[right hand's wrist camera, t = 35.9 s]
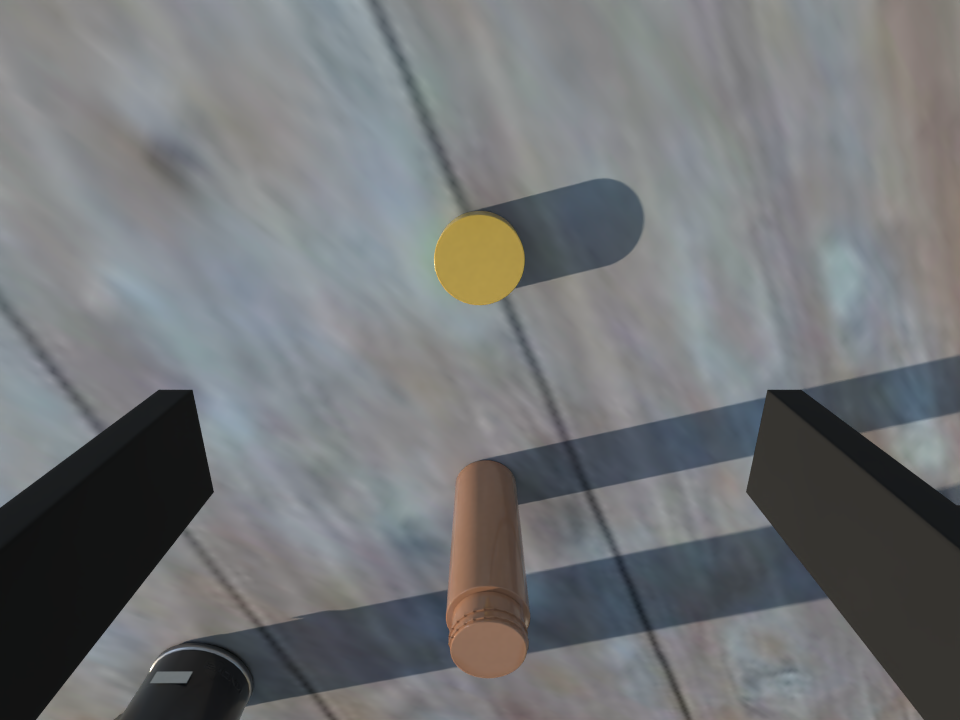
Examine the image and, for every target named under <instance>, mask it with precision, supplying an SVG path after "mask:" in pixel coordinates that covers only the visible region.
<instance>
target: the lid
mask: <svg viewBox="0 0 960 720" xmlns="http://www.w3.org/2000/svg"><path fill="white" fill-rule="evenodd" d="M434 264H435V270H436V274H437V277H438V279H439V281H440V283H441V284H442V286H443V287H444V288H445V290H446V291H447V292H448V293H449V294H450V295H452V296H453V297H454V298H456V299H458V300H460V301H462V302H464V303H468V304H473V305H487V304H491V303H494V302H497V301H499V300H501V299H503V298H505V297H506V296H507V295H509V294H510V293H511V292H512V291H513V290H514V288H515V287H516V286H517V284H518V283H519V281H520V279H521V277H522V274H523V271H524V265H525V255H524V249H523V246H522V243H521V240H520V238H519V236H518V234H517V232H516V231H515V229H514V228H513V226H512V225H511V224H510V223H509V222H508V221H507V220H505V219H504V218H502V217H501V216H499V215H497V214H495V213H491V212H487V211H472V212H468V213H465V214H462V215H460V216H458V217H457V218H455V219H454V220H452V221H451V222H450V223H449V224H448V225H447V227H446V228H445V229H444V231H443V232H442V234H441V236H440V238H439V241H438V243H437V246H436V249H435V255H434Z"/></svg>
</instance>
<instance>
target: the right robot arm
mask: <svg viewBox="0 0 960 720" xmlns="http://www.w3.org/2000/svg"><path fill="white" fill-rule="evenodd" d="M213 492H214V491H213V486H212V481H211V476H210V472H209V467H208V462H207V457H206V452H205V448H204V443H203V438H202V433H201V428H200V424H199V419H198V414H197V409H196V404H195V400H194V395H193V390H158V391H157V392H155V393H154V394H153V395H151V396H150V397H149V398H147V399H146V400H145V401H143V402H142V403H141V404H139V405H138V406H137V407H135V408H134V409H132V410H131V411H130V412H128V413H127V414H126V415H124V416H123V417H122V418H120V419H119V420H118V421H116V422H115V423H114V424H112V425H111V426H110V427H108V428H107V429H106V430H104V431H103V432H102V433H100V434H99V435H98V436H96V437H95V438H93V439H92V440H91V441H89V442H88V443H87V444H85V445H84V446H83V447H81V448H80V449H79V450H77V451H76V452H75V453H73V454H72V455H71V456H69V457H68V458H67V459H65V460H64V461H63V462H61V463H60V464H59V465H57V466H56V467H54V468H53V469H52V470H50V471H49V472H48V473H46V474H45V475H44V476H42V477H41V478H40V479H38V480H37V481H36V482H34V483H33V484H32V485H30V486H29V487H28V488H26V489H25V490H24V491H22V492H21V493H20V494H18V495H17V496H15V497H14V498H13V499H11V500H10V501H9V502H7V503H6V504H5V505H3V506H2V507H1V508H0V720H36V719H37V718H38V716H39V715H40V714H41V713H42V711H43V710H44V709H45V707H46V706H47V705H48V704H49V702H50V701H51V700H52V699H53V697H54V696H55V695H56V693H57V692H58V691H59V690H60V688H61V687H62V686H63V684H64V683H65V682H66V681H67V679H68V678H69V677H70V675H71V674H72V673H73V672H74V670H75V669H76V668H77V667H78V665H79V664H80V663H81V661H82V660H83V659H84V658H85V656H86V655H87V654H88V652H89V651H90V650H91V649H92V647H93V646H94V645H95V643H96V642H97V641H98V640H99V638H100V637H101V636H102V635H103V633H104V632H105V631H106V629H107V628H108V627H109V626H110V624H111V623H112V622H113V620H114V619H115V618H116V617H117V615H118V614H119V613H120V611H121V610H122V609H123V608H124V606H125V605H126V604H127V602H128V601H129V600H130V599H131V597H132V596H133V595H134V594H135V592H136V591H137V590H138V588H139V587H140V586H141V585H142V583H143V582H144V581H145V579H146V578H147V577H148V576H149V574H150V573H151V572H152V570H153V569H154V568H155V567H156V565H157V564H158V563H159V562H160V560H161V559H162V558H163V556H164V555H165V554H166V553H167V551H168V550H169V549H170V547H171V546H172V545H173V544H174V542H175V541H176V540H177V538H178V537H179V536H180V535H181V533H182V532H183V531H184V529H185V528H186V527H187V526H188V524H189V523H190V522H191V521H192V519H193V518H194V517H195V515H196V514H197V513H198V512H199V510H200V509H201V508H202V506H203V505H204V504H205V503H206V501H207V500H208V499H209V497H210V496H211V495H212V494H213ZM746 492H747V494H748V495H749V496H750V497H751V499H752V500H753V501H754V503H755V504H756V505H757V506H758V508H759V509H760V510H761V512H762V513H763V514H764V515H765V517H766V518H767V519H768V521H769V522H770V523H771V524H772V526H773V527H774V528H775V529H776V531H777V532H778V533H779V535H780V536H781V537H782V538H783V540H784V541H785V542H786V544H787V545H788V546H789V547H790V549H791V550H792V551H793V553H794V554H795V555H796V556H797V558H798V559H799V560H800V562H801V563H802V564H803V565H804V567H805V568H806V569H807V570H808V572H809V573H810V574H811V576H812V577H813V578H814V579H815V581H816V582H817V583H818V585H819V586H820V587H821V588H822V590H823V591H824V592H825V594H826V595H827V596H828V597H829V599H830V600H831V601H832V602H833V604H834V605H835V606H836V608H837V609H838V610H839V611H840V613H841V614H842V615H843V617H844V618H845V619H846V620H847V622H848V623H849V624H850V626H851V627H852V628H853V629H854V631H855V632H856V633H857V635H858V636H859V637H860V638H861V640H862V641H863V642H864V643H865V645H866V646H867V647H868V649H869V650H870V651H871V652H872V654H873V655H874V656H875V658H876V659H877V660H878V661H879V663H880V664H881V665H882V667H883V668H884V669H885V670H886V672H887V673H888V674H889V675H890V677H891V678H892V679H893V681H894V682H895V683H896V684H897V686H898V687H899V688H900V690H901V691H902V692H903V693H904V695H905V696H906V697H907V699H908V700H909V701H910V702H911V704H912V705H913V706H914V707H915V709H916V710H917V711H918V713H919V714H920V715H921V716H922V718H923V719H924V720H960V505H955V504H954V503H953V502H951V501H950V500H949V499H947V498H946V497H945V496H943V495H942V494H940V493H939V492H938V491H936V490H935V489H934V488H932V487H931V486H930V485H928V484H927V483H926V482H924V481H923V480H922V479H920V478H919V477H918V476H916V475H915V474H914V473H912V472H911V471H910V470H908V469H907V468H906V467H904V466H903V465H901V464H900V463H899V462H897V461H896V460H895V459H893V458H892V457H891V456H889V455H888V454H887V453H885V452H884V451H883V450H881V449H880V448H879V447H877V446H876V445H875V444H873V443H872V442H871V441H869V440H868V439H867V438H865V437H864V436H862V435H861V434H860V433H858V432H857V431H856V430H854V429H853V428H852V427H850V426H849V425H848V424H846V423H845V422H844V421H842V420H841V419H840V418H838V417H837V416H836V415H834V414H833V413H832V412H830V411H829V410H828V409H826V408H825V407H823V406H822V405H821V404H819V403H818V402H817V401H815V400H814V399H813V398H811V397H810V396H809V395H807V394H806V393H805V392H803V391H802V390H767V395H766V400H765V404H764V409H763V414H762V419H761V424H760V428H759V433H758V438H757V443H756V448H755V452H754V457H753V462H752V467H751V472H750V476H749V481H748V486H747V491H746Z"/></svg>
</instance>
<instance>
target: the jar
mask: <svg viewBox="0 0 960 720" xmlns="http://www.w3.org/2000/svg"><path fill="white" fill-rule="evenodd" d="M446 623H447V626H448V628H449V630H450V633H449V643H448V645H449V647H450V653H451V657H452V659H453V661H454V663H455V664H456V665H457V666H458V668H460V669H461V670H462V671H464V672H465V673H467V674H469V675H472V676H475V677H480V678H497V677H502V676H505V675H508V674H510V673H512V672H513V671H515V670H516V669H517V668H518V667H519V666H520V665H521V664H522V663H523V661H524V659H525V657H526V654H527V650H528V644H529V640H528V631H527V628H528V626H529V623H530V608H529V599H528V590H527V580H526V571H525V562H524V553H523V544H522V534H521V525H520V516H519V507H518V497H517V488H516V481H515V478H514V476H513V474H512V472H511V471H510V470H509V469H508V468H507V467H505V466H504V465H502V464H500V463H498V462H495V461H490V460H482V461H477V462H474V463H471V464H469V465H468V466H466V467H465V468H464V469H463V470H462V471H461V472H460V473H459V475H458V477H457V480H456V485H455V499H454V513H453V526H452V540H451V554H450V567H449V581H448V595H447V608H446Z"/></svg>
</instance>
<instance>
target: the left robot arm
mask: <svg viewBox="0 0 960 720" xmlns="http://www.w3.org/2000/svg"><path fill="white" fill-rule="evenodd" d="M252 691H253V679H252V676H251V673H250V672H249V670H248V668H247V667H246V666H245V664H244V663H243V662H242V661H241V660H240V659H238V658H237V657H236V656H235V655H233V654H231V653H230V652H228V651H226V650H224V649H222V648H219V647H216V646H213V645H208V644H202V643H186V644H180V645H176V646H173V647H171V648H169V649H167V650H165V651H164V652H163V653H161V654H160V655H159V656H158V658H157V659H156V661H155V662H154V664H153V665H152V667H151V670H150V672H149V674H148V675H147V677H146V679H145V680H144V682H143V683H142V685H141V686H140V688H139V690H138V691H137V693H136V694H135V696H134V697H133V699H132V700H131V702H130V703H129V705H128V707H127V708H126V710H125V711H124V713H123V714H121V715H119V716H118V717H117V718H116V719H114V720H240V717H241V715H242V712H243V710H244V708H245V706H246V705H247V703H248V701H249V699H250V696H251V694H252Z"/></svg>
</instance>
